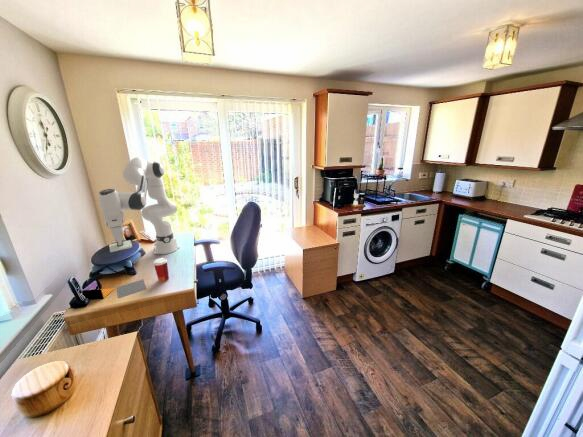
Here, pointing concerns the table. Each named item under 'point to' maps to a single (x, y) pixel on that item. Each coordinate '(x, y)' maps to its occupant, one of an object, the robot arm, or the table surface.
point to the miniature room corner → (95, 292)
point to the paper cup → (161, 269)
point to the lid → (120, 246)
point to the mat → (131, 288)
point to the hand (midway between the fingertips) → (120, 243)
